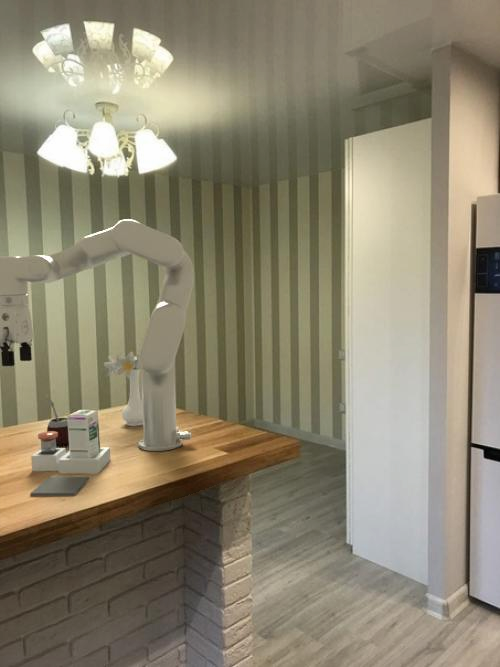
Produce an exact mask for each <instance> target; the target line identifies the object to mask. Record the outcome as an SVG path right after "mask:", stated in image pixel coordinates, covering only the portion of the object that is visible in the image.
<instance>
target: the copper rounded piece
mask: <svg viewBox="0 0 500 667" xmlns="http://www.w3.org/2000/svg"><path fill="white" fill-rule="evenodd" d="M37 437H38V440H40V449H41V454H42V455H54V454H55V453H56V448H57V447H56V437H58V432H55V431H49V432H47V431H42V432H40V433H38V434H37Z"/></svg>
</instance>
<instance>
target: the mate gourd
mask: <svg viewBox="0 0 500 667" xmlns="http://www.w3.org/2000/svg"><path fill="white" fill-rule="evenodd" d="M44 397H45V398H46V399H47V400H48V401H49V403H50V407H52V408H51V409H52V410H53V414H54V416H55V418H53V419H51V420H50V421H49V422H48V424H47V427H46V428H47V429H46V432H49V431H55V432H58V437H56V448H65V447H69V437H68V421H67V417H58V414H57V411H56V408H55V403H54V402H53V400H52V399H51V398H50V397H49V396H48V395H47V394H44Z"/></svg>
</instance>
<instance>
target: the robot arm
mask: <svg viewBox="0 0 500 667" xmlns="http://www.w3.org/2000/svg"><path fill="white" fill-rule="evenodd" d="M129 255H134V256H137V257H138V258H141V259H143V260H145V261H148V262H151V263H154V264H156V265H158V266H159V267H161V268H162V269H163V271H164V279H163V283H162V286H161V289H160V294H159V296H158V299H157V303H156V305H155V308H154V309H153V310H152V312H151V315H150V319H149V321H148V325H147V329H146V331H145V335H144V339H143V342H142V344H141V348H140V350H139V353H138V354H139V363H140V365H141V370H140V372H141V401H142V407H143V425H142V428H143V432H142V433H143V438H142V439H140V440H139V441H138V447H139V449H141V450H144V451H148V452H163V451H164V452H165V451H169V450H175V449H176V448H179V447H180V446H182V444H183V440H186V441H191V440H192V432H189V431H181V430H179V426H177V413H176V412H177V411H176V410H177V409H176V379H175V378H176V377H175V376H176V375H175V372H176V371H175V369H176V368H175V359H176V356H177V353H178V350H179V347H180V343H181V340H182V338H183V334H184V331H185V327H186V321H187V319H186V313H187V309H188V306H189V302H190V299H191V296H192V295H191V294H192V291H193V288H194V283H195V269H194V265H193V262H192V259H191V258H190V256H189V255H188V253H187V251H185V250H184V247H183V245H182V243H181V242H180V241H179V240H178V239H177V238H175V237H174V236H172V235H169V234H167V233H164V232H162V231H159V230H157V229H155V228H152V227H150V226H148V225H146V224H143V223H141V222H139V221H137V220H134V219H129V218H128V219H122V220H119V221H118V222H117V223H116V224H115V225H114V226H113V227H109V228H108V229H105V230H102V231H98V232H95V233H92V234H90V235H86V236H84V237H83V238H80V239H79V240H78V242H76V243H75V244H74V245H72V246H70V247H68V248H65V249H64V250H61V251H58V252H55V253H53V254H50V255H42V254H35V255H33V254H32V255H27V256H14V255H13V256H11V255H10V256H9V255H7V256H5V255H4V256H0V353H1V365H2V367H15V352H14V350H13V349H14V345H15V344H19V345H20V346H19V360H20V362H30V361H32V359H33V358H32V346H33V344H32V341H33V338H34V335H33V334H34V333H33V332H34V330H33V322H32V321H33V320H32V316H31V311H30V303H29V286H28V284H29V282H30V283H36V284H50V283H54V282H57V281H59V280H62V279H64V278H68V277H71V276H73V275H76V274H78V273H81V272H84V271H87V270H90V269H93V268H95V267H98V266H101V265H104V264H106V263H108V262H112V261H116V260H117V259H119V258H123V257H126V256H129Z"/></svg>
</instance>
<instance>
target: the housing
mask: <svg viewBox="0 0 500 667" xmlns="http://www.w3.org/2000/svg"><path fill="white" fill-rule="evenodd" d="M30 457H31V458H30V459H31V471H32V472H58V473H59V474H67V475H68V474H99V473H101V471H102V470H103V469H104V468H105V467H106V466H107V464H108V463H110V461H111V447H110V446H109V447H108V446H106V447H105V446H103V447H101V446H100V453H99V454H98V455H97V456H96V457H95V458H70V451H69V450H68V451H67V449H66V447H62V448H58V447H56V453H55V454H54V455H42V454H41V448H40V449H39V450H37V451H36V452H34V454H32V455H31V456H30Z"/></svg>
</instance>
